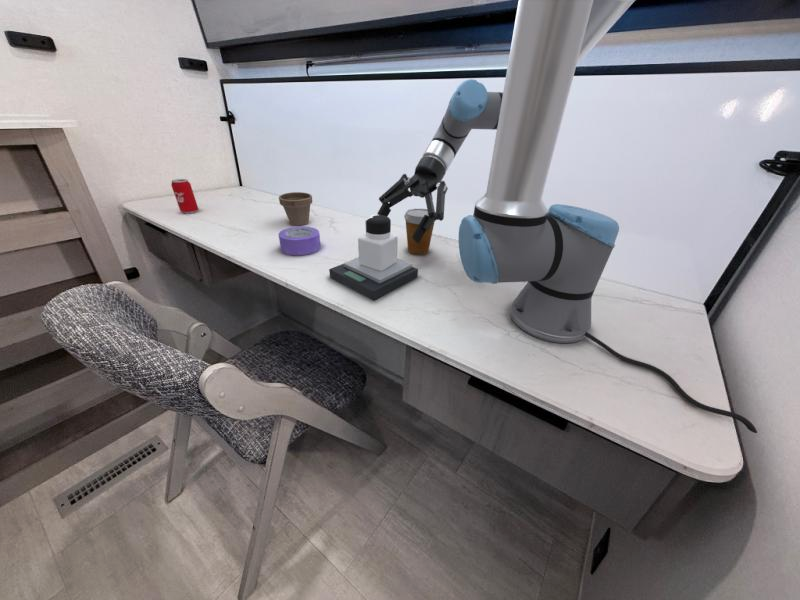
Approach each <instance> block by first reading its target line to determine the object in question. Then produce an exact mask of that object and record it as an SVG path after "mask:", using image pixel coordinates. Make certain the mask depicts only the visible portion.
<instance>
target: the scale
mask: <svg viewBox="0 0 800 600" xmlns="http://www.w3.org/2000/svg"><path fill="white" fill-rule="evenodd" d="M328 272H329V278H330V279H331V280H334V281H335V282H337V283H339V284H341V285H343V286H344V287H347V288H349V289H351V290H352V291H354V292H355V293H358V294H359V295H362V296H364V297H365V298H367V299H369V300H371V301H373V302H374V301H377V300H378V299H380V298H382V297H384V296H386V295H388V294H389V293H392V292H393V291H395V290H397V289H399V288H401V287H402V286H405V285H406V284H408V283H410V282H413V281H414V280H416V279H418V278H419V268H416V267H414V266H413V263H410V262H408V261H405V260H402V259H400V258H398V257H397V262H396V263H394V264H393V265H391V266H389V267H388V268H386V269H385V270H383V271H378V270H375V269H372V268H369V267H366V266H363V265H360V264H359V256H358V257H356V258H353V259H351V260H349V261H346V262H343V263H341V264H339V265H337V266H333V267H331V268H329V269H328Z"/></svg>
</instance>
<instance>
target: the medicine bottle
mask: <svg viewBox="0 0 800 600" xmlns="http://www.w3.org/2000/svg"><path fill="white" fill-rule="evenodd" d="M391 223H392V221H391V218H390V217H389V216H384V215H378V214H372V215H371V214H370V215H369V216H367V217H366V218H365V219H364V227H365V229H364V230H365V234H364V235H362V236H360V237H358V238H357V245H358V257H359V264H360V265H363V266H366V267H369V268H372V269H375V270H378V271H383V270H385V269H386V268H388V267H389V266H391V265H393V264H394V263H396V262H397V258H398V242H399V238H398V235H395V234H391V230H392V229H391V227H392V226H391V225H392V224H391Z"/></svg>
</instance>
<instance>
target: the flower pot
mask: <svg viewBox="0 0 800 600" xmlns="http://www.w3.org/2000/svg"><path fill="white" fill-rule="evenodd" d="M278 201H279V205H280V206H281V207H283V210H284V212H285V214H286V216H287V219H288V222H289V224H290V225H291V226H294V227H298V226H305V225H307V224H309V222H310V211H311V204H313V195H312V194H311V193H307V192H301V191H300V192H299V191H296V192H295V191H293V192H286V193H282V194H280V195H279V196H278Z"/></svg>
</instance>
